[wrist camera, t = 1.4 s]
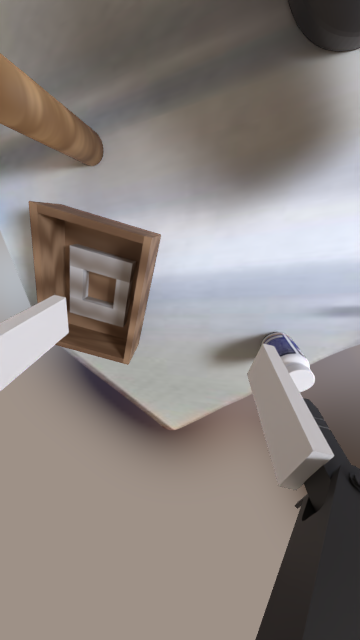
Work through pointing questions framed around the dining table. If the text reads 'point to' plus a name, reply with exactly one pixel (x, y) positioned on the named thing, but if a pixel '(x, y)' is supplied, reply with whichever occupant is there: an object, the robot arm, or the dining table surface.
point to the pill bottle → (292, 360)
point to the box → (94, 276)
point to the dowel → (44, 117)
